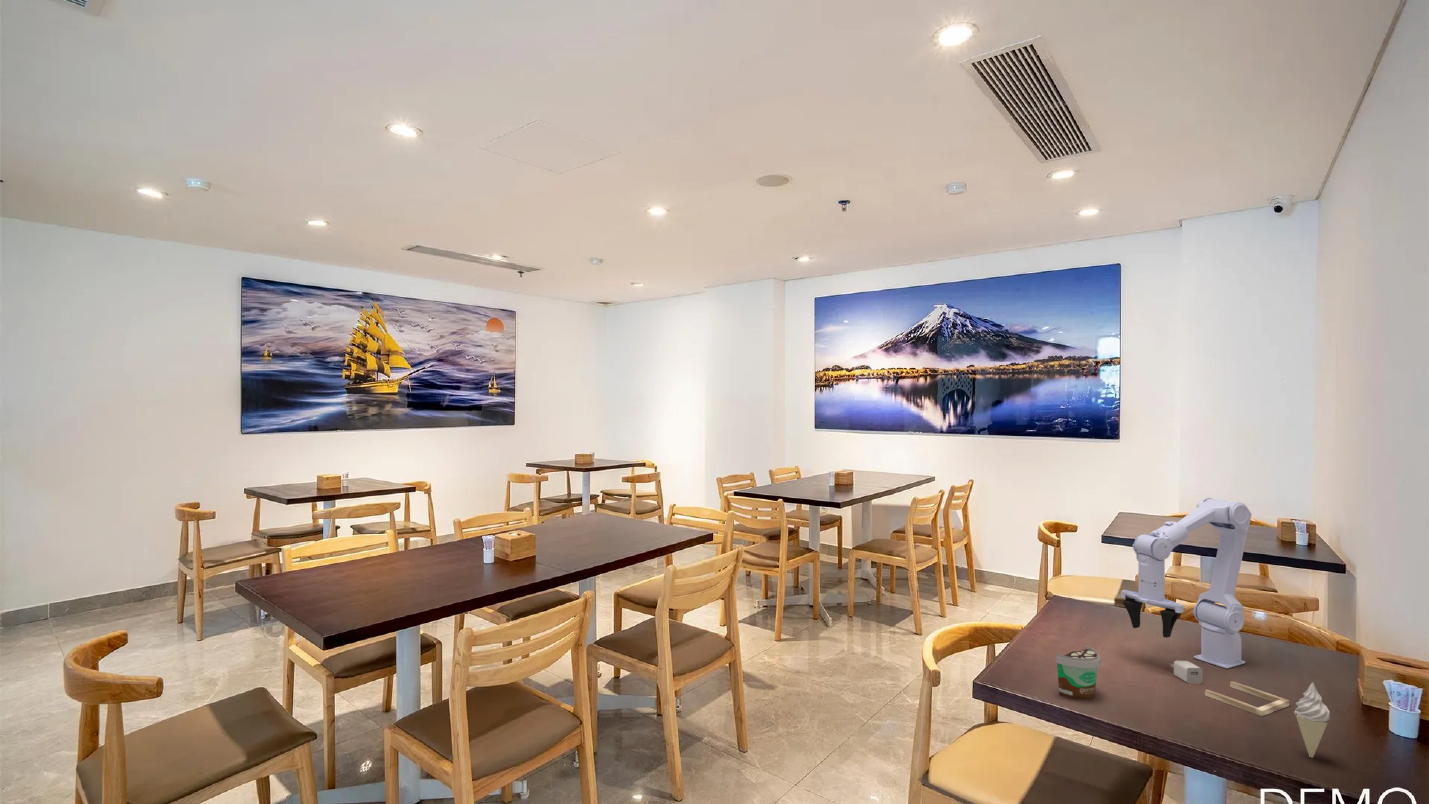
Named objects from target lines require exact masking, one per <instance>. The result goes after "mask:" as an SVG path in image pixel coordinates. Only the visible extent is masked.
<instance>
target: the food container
mask: <svg viewBox="0 0 1429 804" xmlns="http://www.w3.org/2000/svg"><path fill="white" fill-rule="evenodd" d="M1101 661H1102V660H1101V657H1100V654H1099V652H1098V651H1097V650H1095V648H1092V647H1090V646H1088V645H1085V648H1084V649H1083V650H1079V651H1076V650H1075V651H1071V652H1068V653H1066V654H1061V653H1056V656H1055V663H1056V664H1057V665H1056V666H1057V667H1056V668H1057V681H1058V682H1057V683H1058V695H1059V694H1060V696H1062V697H1065V696H1066V697H1065V698H1068V697H1069V698H1068V699H1073V700H1077V699H1080V700H1079V701H1089V700H1092V699H1095V696H1096V695H1095V694H1096V688H1097V687H1096V686H1097V675H1098V668H1099V667H1101V664H1102V662H1101Z"/></svg>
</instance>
